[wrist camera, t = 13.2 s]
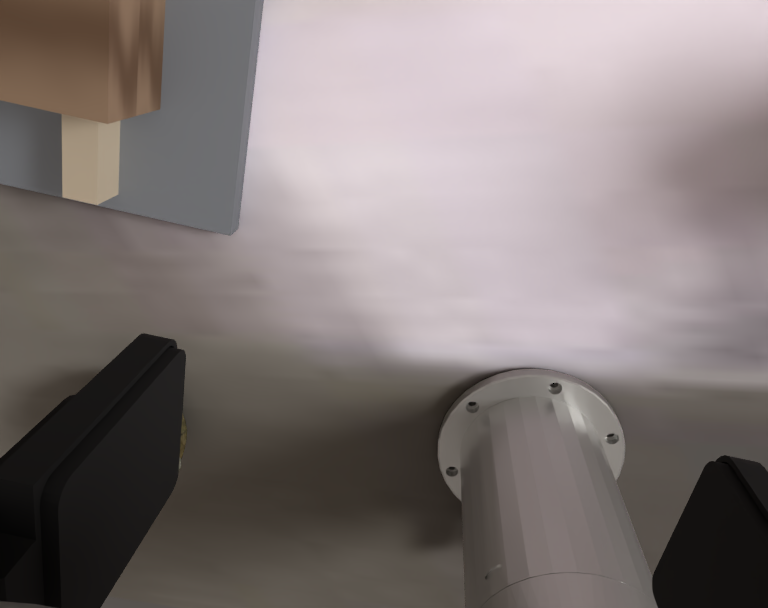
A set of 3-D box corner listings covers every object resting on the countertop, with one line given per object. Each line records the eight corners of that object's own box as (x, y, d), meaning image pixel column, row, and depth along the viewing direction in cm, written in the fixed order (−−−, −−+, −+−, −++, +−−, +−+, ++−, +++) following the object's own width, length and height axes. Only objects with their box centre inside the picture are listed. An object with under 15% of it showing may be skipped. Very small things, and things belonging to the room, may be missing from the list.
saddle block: (160, 109, 35) (107, 124, 30) (49, 84, 35) (-24, 95, 30) (166, -29, 32) (109, -41, 27) (46, -56, 32) (-35, -73, 27)
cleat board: (238, 228, 39) (216, 248, 36) (-11, 172, 39) (-58, 187, 36) (280, -150, 31) (258, -174, 27) (-35, -221, 31) (-99, -255, 27)
